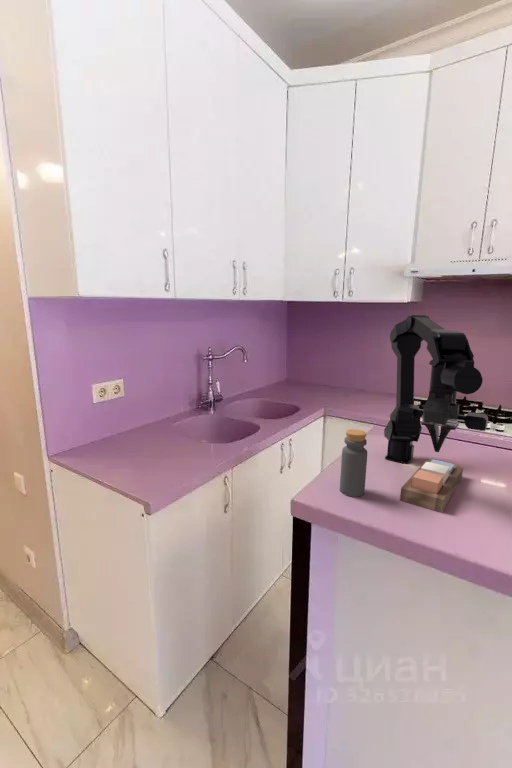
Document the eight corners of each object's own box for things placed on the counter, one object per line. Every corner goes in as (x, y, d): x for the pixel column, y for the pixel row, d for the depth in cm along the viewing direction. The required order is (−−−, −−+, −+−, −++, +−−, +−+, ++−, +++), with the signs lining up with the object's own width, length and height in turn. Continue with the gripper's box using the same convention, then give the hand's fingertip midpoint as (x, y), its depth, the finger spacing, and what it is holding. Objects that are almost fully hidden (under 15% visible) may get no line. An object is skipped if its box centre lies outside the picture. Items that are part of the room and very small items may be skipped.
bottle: (365, 488, 94) (369, 430, 91) (363, 498, 88) (368, 437, 86) (341, 484, 96) (344, 427, 93) (338, 494, 90) (342, 433, 87)
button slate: (426, 477, 100) (427, 465, 99) (431, 471, 104) (432, 459, 103) (448, 483, 96) (450, 470, 96) (452, 476, 101) (454, 464, 100)
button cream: (419, 481, 94) (421, 467, 93) (425, 474, 98) (426, 461, 97) (443, 487, 91) (444, 473, 90) (448, 480, 95) (449, 466, 94)
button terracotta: (411, 490, 88) (412, 476, 88) (417, 483, 93) (419, 469, 92) (436, 497, 85) (438, 483, 84) (441, 489, 89) (443, 475, 89)
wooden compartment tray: (399, 500, 88) (401, 488, 87) (426, 469, 107) (427, 458, 106) (441, 512, 83) (443, 500, 82) (461, 477, 101) (463, 467, 101)
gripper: (392, 386, 86) (386, 452, 89) (487, 396, 76) (478, 470, 78) (405, 381, 95) (400, 441, 98) (491, 389, 85) (483, 456, 87)
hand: (437, 451), depth 90 cm, fingers closed
